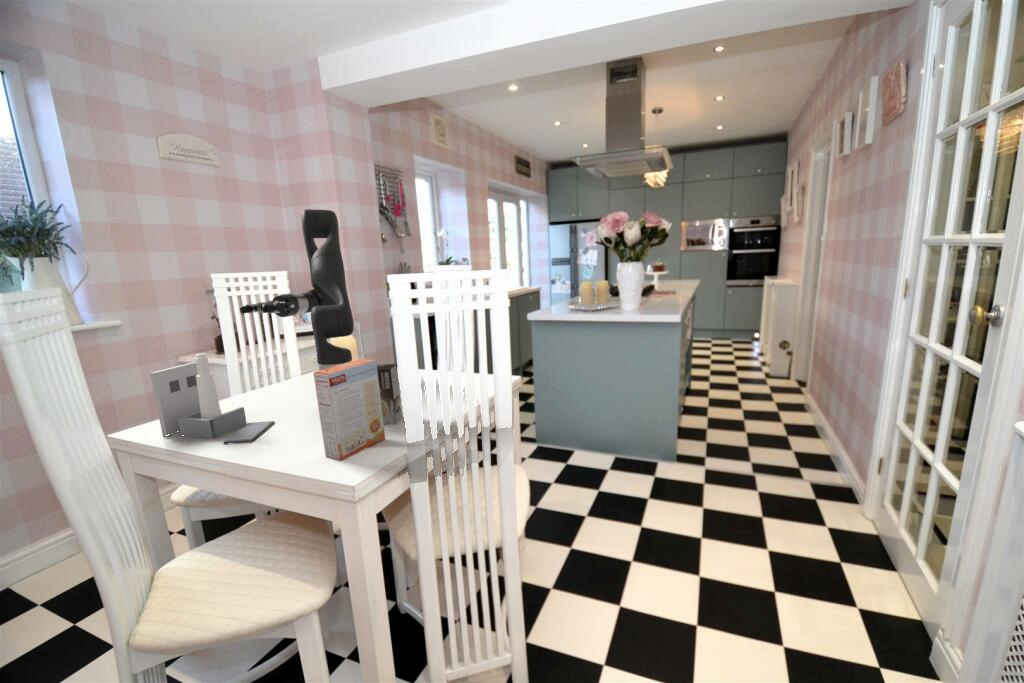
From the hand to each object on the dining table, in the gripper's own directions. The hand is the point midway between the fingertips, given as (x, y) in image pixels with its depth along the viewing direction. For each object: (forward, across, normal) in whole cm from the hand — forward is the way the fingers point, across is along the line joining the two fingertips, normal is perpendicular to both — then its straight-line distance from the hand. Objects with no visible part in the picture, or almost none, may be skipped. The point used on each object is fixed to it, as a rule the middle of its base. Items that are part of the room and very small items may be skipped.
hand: (252, 309), depth 137 cm
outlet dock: (+16, -5, +32) cm, 36 cm away
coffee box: (+3, +44, +33) cm, 55 cm away
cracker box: (+21, +47, +33) cm, 61 cm away
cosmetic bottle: (+17, -2, +32) cm, 37 cm away
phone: (+17, +11, +33) cm, 39 cm away
